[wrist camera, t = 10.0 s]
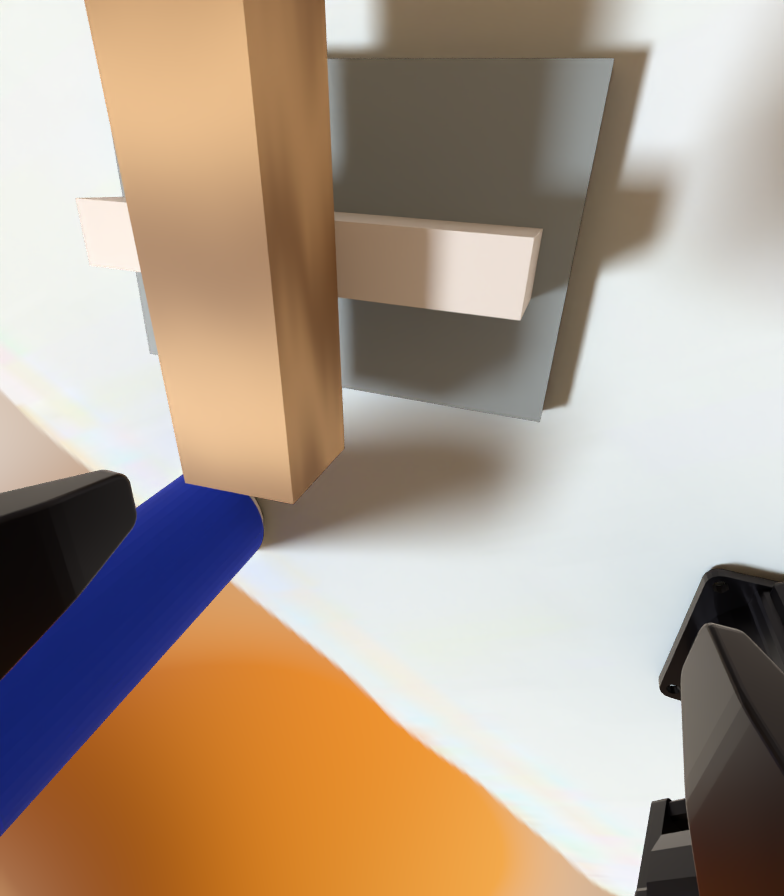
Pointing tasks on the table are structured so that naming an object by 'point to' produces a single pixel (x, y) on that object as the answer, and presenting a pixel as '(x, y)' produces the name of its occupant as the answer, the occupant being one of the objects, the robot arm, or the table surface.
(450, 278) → the stand
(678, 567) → the table surface
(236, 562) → the beverage can
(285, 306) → the oak bar
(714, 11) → the table surface
